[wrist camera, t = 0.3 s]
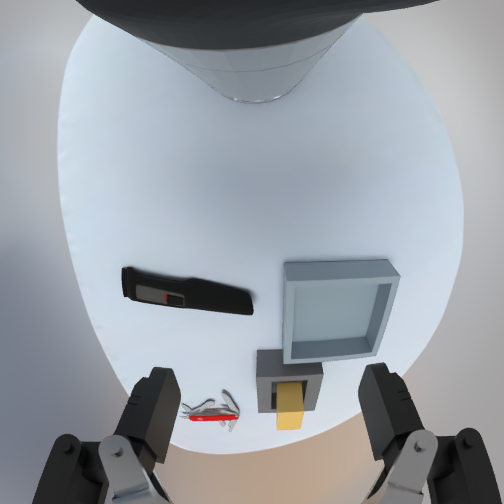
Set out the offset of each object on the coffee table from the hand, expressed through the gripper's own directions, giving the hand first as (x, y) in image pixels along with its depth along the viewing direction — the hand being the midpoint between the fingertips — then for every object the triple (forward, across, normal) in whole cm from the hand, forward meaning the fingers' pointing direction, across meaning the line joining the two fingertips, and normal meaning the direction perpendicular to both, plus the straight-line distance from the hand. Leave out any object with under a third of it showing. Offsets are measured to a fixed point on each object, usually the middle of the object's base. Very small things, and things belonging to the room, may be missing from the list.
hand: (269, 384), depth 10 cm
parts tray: (+18, -8, +9) cm, 22 cm away
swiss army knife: (+20, +10, +33) cm, 40 cm away
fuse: (+18, -2, +20) cm, 27 cm away
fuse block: (+19, -2, +20) cm, 28 cm away
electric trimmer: (+19, +9, +6) cm, 22 cm away
